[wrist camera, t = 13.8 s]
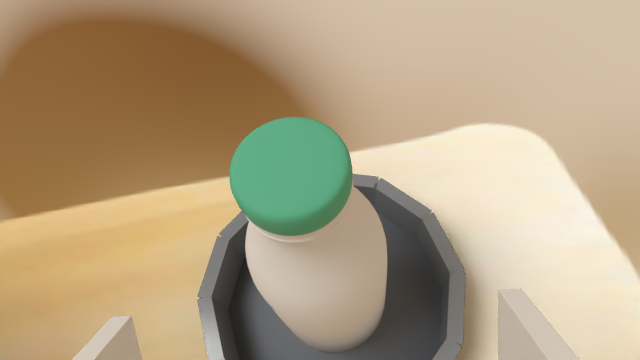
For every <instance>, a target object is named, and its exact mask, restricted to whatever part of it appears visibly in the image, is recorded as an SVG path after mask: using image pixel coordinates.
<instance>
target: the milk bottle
mask: <svg viewBox="0 0 640 360" xmlns="http://www.w3.org/2000/svg"><path fill="white" fill-rule="evenodd" d="M230 186H231V190H232V193H233V195H234V198H235V199H236V201H237V203H238V205H239V207H240V208H241V210H242V211H243V213H244V214H245V216H246V218H247V219H248V221H249V223H248V227H247V232H246V241H245V251H246V259H247V265H248V268H249V271H250V274H251V277H252V279H253V282H254V284H255V286H256V287H257V289H258V291H259V292H260V293H261V295H262V296H263V298H264V299H265V301H266V302H267V303H268V305H269V306H270V307H271V308H272V309H273V311H274V312H275V313H276V314H277V315H278V317H279V318H280V319H281V320H282V321H283V322H284V323H285V325H286V326H287V327H288V328H289V329H290V330H291V331H292V332H293V333H294V334H295V335H296V336H297V337H298V338H299V339H300V340H301V341H302V342H304V343H305V344H306V345H308V346H310V347H312V348H314V349H317V350H319V351H323V352H333V353H335V352H343V351H347V350H351V349H353V348H355V347H357V346H359V345H361V344H362V343H364V342H365V341H366V340H367V339H368V338H369V337H370V336H371V335H372V334H373V333H374V331H375V330H376V328H377V327H378V325H379V323H380V321H381V318H382V315H383V311H384V306H385V295H386V281H387V244H386V237H385V233H384V230H383V226H382V223H381V221H380V218H379V216H378V214H377V212H376V211H375V209H374V207H373V206H372V204H371V203H370V202H369V200H368V199H367V198H366V197H365V196H364V195H363V194H362V193H361V192H360V191H359V190H358V189H356V188H355V187H354V186H353V179H352V165H351V159H350V155H349V152H348V149H347V147H346V145H345V144H344V142H343V140H342V139H341V137H340V136H339V135H338V134H337V133H336V132H335V131H334V130H333V129H331V128H330V127H329V126H327V125H326V124H324V123H322V122H319V121H317V120H314V119H310V118H304V117H287V118H281V119H277V120H274V121H271V122H268V123H266V124H264V125H262V126H260V127H258V128H257V129H255V130H254V131H253V132H252V133H250V134H249V135H248V136H247V137H246V138H245V139H244V140H243V141H242V142H241V143H240V145H239V146H238V148H237V149H236V151H235V153H234V155H233V158H232V161H231V165H230Z"/></svg>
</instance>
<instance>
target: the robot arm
mask: <svg viewBox="0 0 640 360" xmlns="http://www.w3.org/2000/svg"><path fill="white" fill-rule="evenodd" d="M498 359H499V360H579V358H578V357H577V356H576V355H575V354H574V352H573V351H572V350H571V349H570V347H569V346H568V345H567V344H566V343H565V341H564V340H563V339H562V338H561V336H560V335H559V334H558V333H557V332H556V330H555V329H554V328H553V327H552V326H551V324H550V323H549V322H548V321H547V319H546V318H545V317H544V316H543V315H542V313H541V312H540V311H539V310H538V308H537V307H536V306H535V305H534V304H533V302H532V301H531V300H530V299H529V297H528V296H527V295H526V294H525V293H524V291H523V290H522V289H509V290H498ZM72 360H142V357H141V353H140V349H139V345H138V341H137V336H136V332H135V328H134V324H133V320H132V316H118V317H111V318H110V319H109V320H108V321H107V322H106V323H105V324H104V325H103V327H102V328H101V329H100V330H99V331H98V332H97V333H96V334H95V335H94V336H93V337H92V338H91V340H90V341H89V342H88V343H87V344H86V345H85V346H84V347H83V348H82V349H81V350H80V351H79V353H78V354H77V355H76V356H75V357H74V358H73V359H72Z"/></svg>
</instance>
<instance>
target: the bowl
mask: <svg viewBox="0 0 640 360" xmlns="http://www.w3.org/2000/svg"><path fill="white" fill-rule="evenodd" d="M378 178H379V177H375V176H366V175H357V174H352V179H353V186H354V187H355V188H356V189H358V190H359V191H360V192H361V193H362V194H363V195H364V196H365V197H366V198H367V199H368V200H369V202H370V203H371V204H372V206H373V207H374V209H375V211H376V212H377V214H378V216H379V218H380V221H381V223H382V226H383V230H384V233H385V237H386V244H387V281H386V295H385V306H384V311H383V315H382V318H381V321H380V323H379V325H378V327H377V328H376V330H375V331H374V333H373V334H372V335H371V336H370V337H369V338H368V339H367V340H366V341H365V342H364V343H362V344H361V345H359V346H357V347H355V348H353V349H351V350H347V351H343V352H335V353H333V352H323V351H319V350H317V349H314V348H312V347H310V346H308V345H306V344H305V343H304V342H302V341H301V340H300V339H299V338H298V337H297V336H296V335H295V334H294V333H293V332H292V331H291V330H290V329H289V328H288V327H287V326H286V325H285V323H284V322H283V321H282V320H281V319H280V318H279V317H278V315H277V314H276V313H275V312H274V311H273V309H272V308H271V307H270V306H269V305H268V303H267V302H266V301H265V299H264V298H263V296H262V295H261V293H260V292H259V291H258V289H257V287H256V286H255V284H254V282H253V279H252V277H251V274H250V271H249V268H248V265H247V259H246V251H245V241H246V232H247V227H248V223H249V221H248V219H247V218H246V216H245V214H244V213H243V211H241V212H240V213H239V214H238V215H237V216H236V217H235V218H234V219H233V220H232V221H231V222H230V223H229V224H228V225H227V226H226V227H225V228H224V229H223V230H222V231H221V232H220V233H219V234H220V236H221V237H220V236H217V239H216V242H215V245H214V248H213V251H212V254H211V257H210V260H209V263H208V266H207V269H206V272H205V275H204V278H203V281H202V284H201V287H200V290H199V293H198V297H199V298H200V299H197V301H198V306H199V312H200V317H201V323H202V328H203V333H204V339H205V344H206V350H207V355H208V360H454V359H455V357H456V356H457V354H458V353H459V351H460V350H461V348H462V347H461V346H462V345H463V332H464V301H465V273H463V272H464V268H463V266H462V264H461V262H460V260H459V259H458V257H457V255H456V253H455V251H454V249H453V248H452V246H451V244H450V242H449V240H448V238H447V237H446V235H445V233H444V231H443V229H442V227H441V225H440V224H439V222H438V220H437V218H436V216H435V214H434V213H432V214H431V210H430V209H428V208H427V207H425V206H424V205H422V204H421V203H419V202H418V201H416V200H414V199H413V198H411V197H410V196H408V195H407V194H405V193H404V192H402V191H401V190H399V189H398V188H396V187H394V186H393V185H391V184H390V183H388V182H387V181H385V180H384V179H382V178H380V180H379V181H378Z"/></svg>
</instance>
